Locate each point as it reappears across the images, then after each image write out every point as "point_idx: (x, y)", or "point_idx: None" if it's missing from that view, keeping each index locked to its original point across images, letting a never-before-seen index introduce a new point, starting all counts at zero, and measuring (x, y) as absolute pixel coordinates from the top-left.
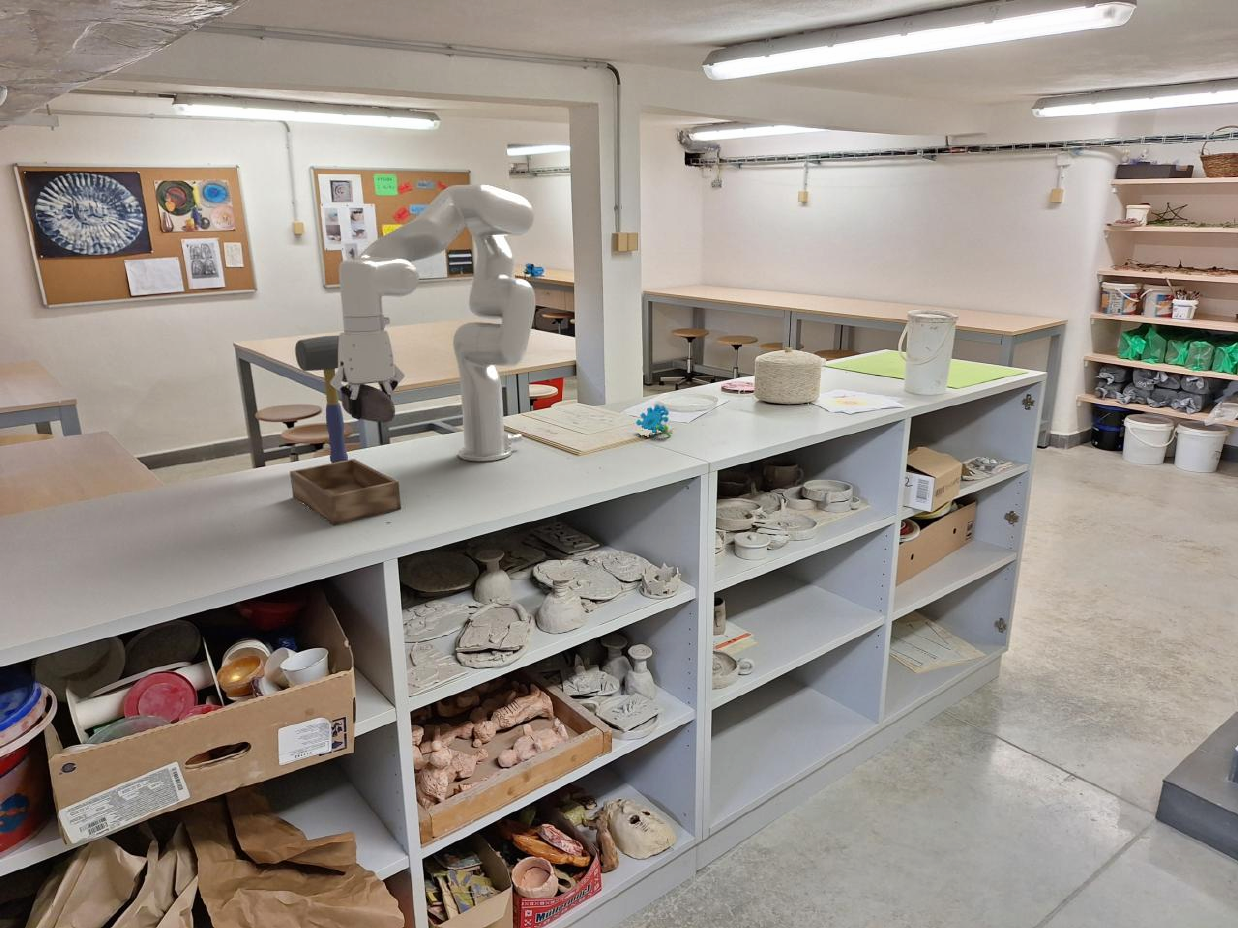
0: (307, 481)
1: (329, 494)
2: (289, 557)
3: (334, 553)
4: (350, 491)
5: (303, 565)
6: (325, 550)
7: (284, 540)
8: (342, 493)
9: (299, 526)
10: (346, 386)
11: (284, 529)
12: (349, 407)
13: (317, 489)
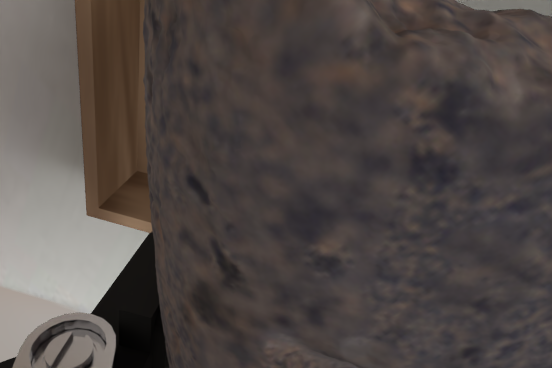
0: (79, 7)
1: (92, 197)
2: (5, 238)
3: (76, 285)
4: (150, 225)
5: (18, 280)
6: (68, 264)
7: (13, 159)
8: (125, 220)
9: (63, 109)
10: (167, 73)
11: (27, 96)
12: (129, 270)
13: (82, 120)
